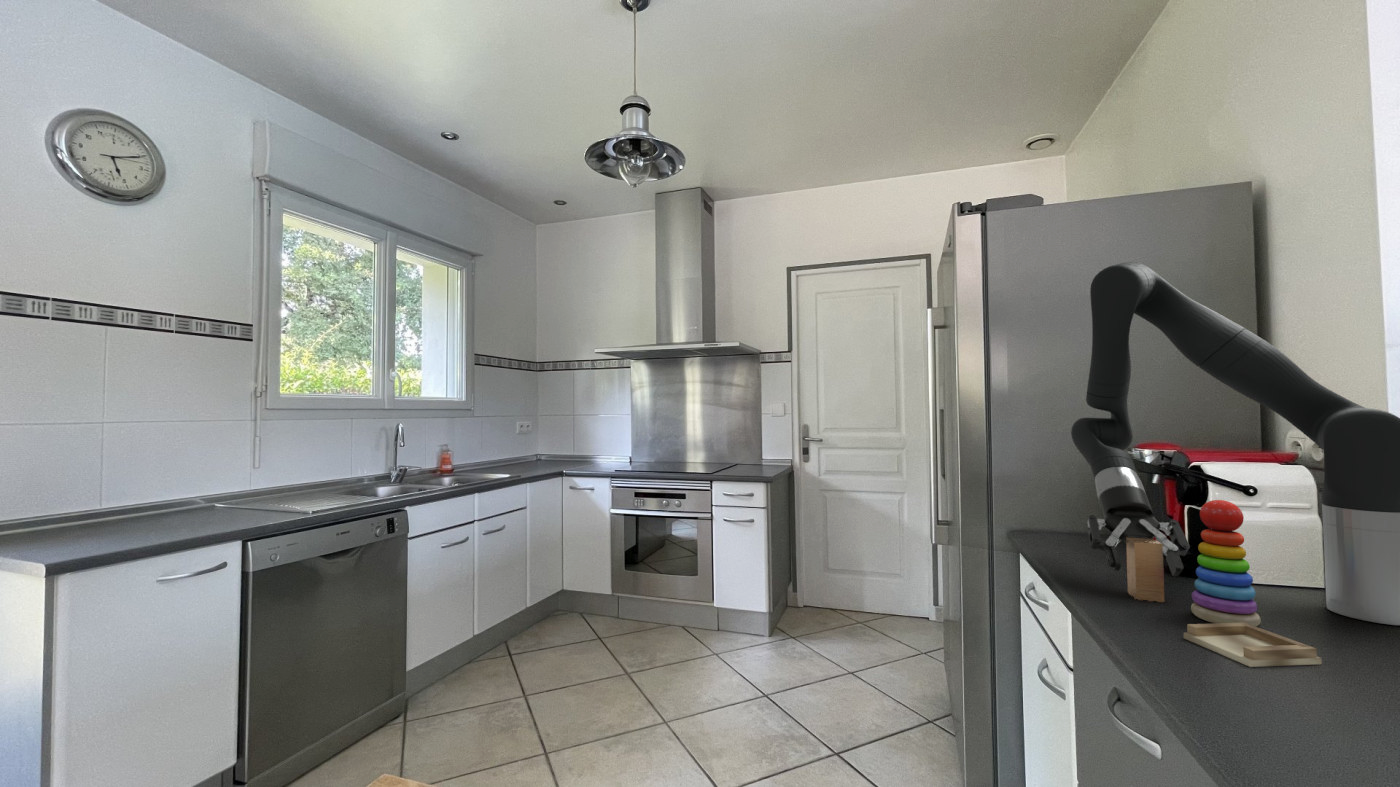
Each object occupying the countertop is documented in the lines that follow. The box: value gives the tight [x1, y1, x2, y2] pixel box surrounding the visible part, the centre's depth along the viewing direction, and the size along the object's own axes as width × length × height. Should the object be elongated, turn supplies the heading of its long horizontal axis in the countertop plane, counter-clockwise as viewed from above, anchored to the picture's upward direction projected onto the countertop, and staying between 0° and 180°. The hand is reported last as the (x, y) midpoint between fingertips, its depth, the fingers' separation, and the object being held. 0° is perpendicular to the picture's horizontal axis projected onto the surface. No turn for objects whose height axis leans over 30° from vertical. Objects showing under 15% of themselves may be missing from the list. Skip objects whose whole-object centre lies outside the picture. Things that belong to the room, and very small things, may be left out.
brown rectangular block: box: [1125, 537, 1165, 603], centre depth 98 cm, size 4×4×10 cm
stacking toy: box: [1190, 499, 1262, 627], centre depth 87 cm, size 8×8×19 cm
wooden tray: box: [1183, 623, 1322, 668], centre depth 76 cm, size 10×9×2 cm
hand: (1146, 571), depth 97 cm, fingers open, 8 cm apart
